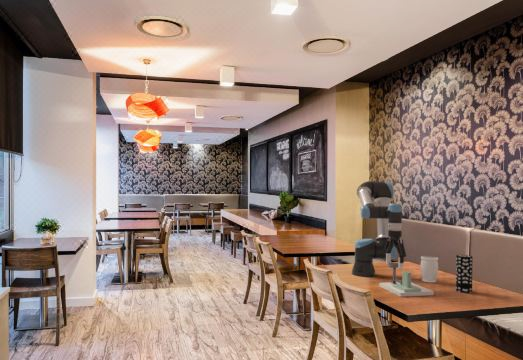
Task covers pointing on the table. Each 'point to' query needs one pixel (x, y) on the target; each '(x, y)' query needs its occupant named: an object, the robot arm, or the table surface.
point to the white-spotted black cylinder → (464, 273)
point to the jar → (429, 268)
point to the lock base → (400, 293)
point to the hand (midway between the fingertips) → (394, 266)
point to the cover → (406, 283)
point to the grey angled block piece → (394, 272)
